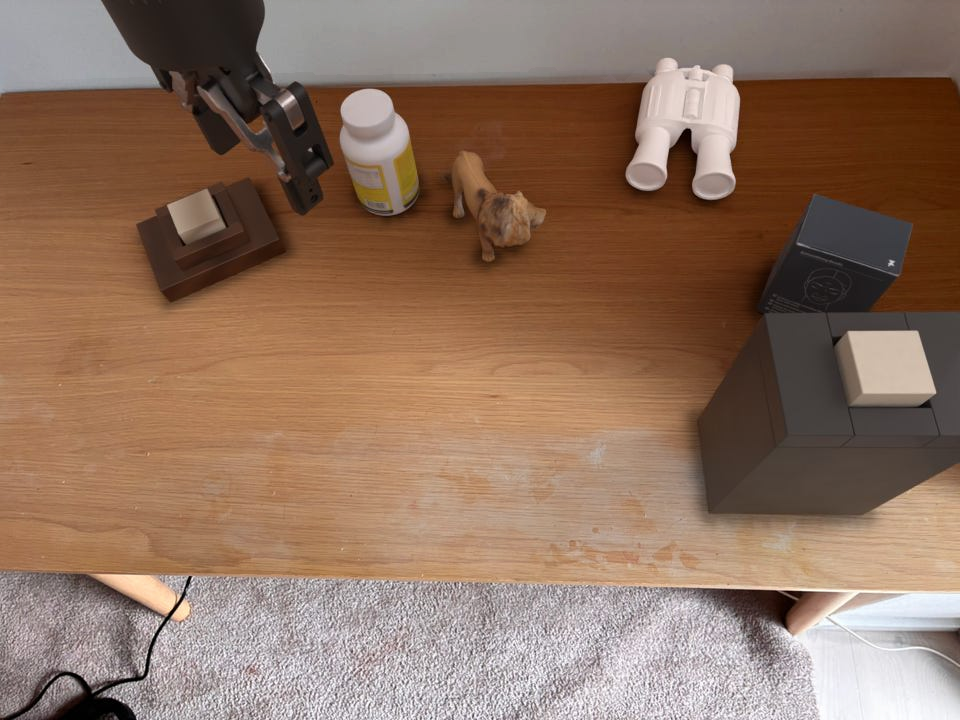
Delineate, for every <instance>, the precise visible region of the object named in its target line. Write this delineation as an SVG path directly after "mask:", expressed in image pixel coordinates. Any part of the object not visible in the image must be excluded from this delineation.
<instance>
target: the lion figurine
mask: <svg viewBox="0 0 960 720" xmlns="http://www.w3.org/2000/svg"><path fill="white" fill-rule="evenodd" d="M443 178H444V179H445V180H446V181H448V182H451V183H452V188H453V189H452V190H453V192H454V194H453V202H454V203H453V205H454V206H453V211H452V216H453V218H455V219H461V218H463V217H465V210H464V208H463V201H462V198H463V195H464V200H465V203H466V205H467V208H468V210H469V211H470V213H471V215H472V216H473V218H474V219H475V221H476V228H477V231H478V237H479V241H480V245H481V251H482V253H481V259H482V260H483V261H484V262H485V263H490V262H492V261H493V260H495V257H496V256H495V249H494V248H493V246H492V244H493V245H494V246H495V247H500V248H502V249H504V248H505V247H507V248H508V247H509V248H510V247H513V246H517V245H520V246H521V245H523V244H526V243H527V242H528V241H530V239H531V238H532V237H531V229H537V228H539V226H540V225H542V223H543V222H544V221H545V216H546V215H547V211H546V209H545V208H541V207H536V206H534V204H533V203H532V202H530V201H528V199H527V198H526V197H524V195H523V193H522V191H520V190H517V191H516V192H515V194H511V193H506V194H504V192H498V191H497V190H496V188H495V187H494V185H493V184H492V182H490V180H489V179H488V178H487V177H486V175H485V167H484V163H483V161H482V159H481V157H480V156H479V155H478V154H477V153H475V152H473V151H467V150H461V151H459V153H458V155H457V156H456V158H455V159H454V161H453V162H452V168H451V173H448V174H444V175H443ZM462 194H463V195H462Z"/></svg>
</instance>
